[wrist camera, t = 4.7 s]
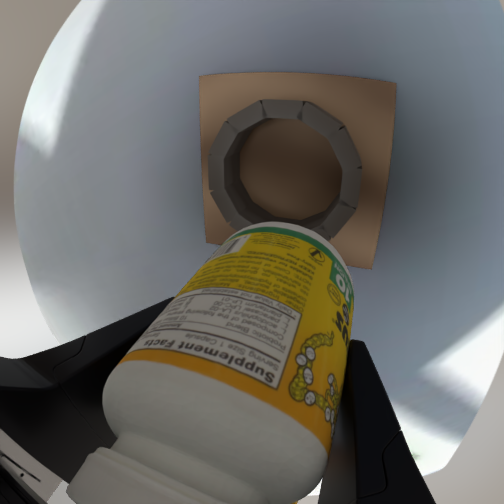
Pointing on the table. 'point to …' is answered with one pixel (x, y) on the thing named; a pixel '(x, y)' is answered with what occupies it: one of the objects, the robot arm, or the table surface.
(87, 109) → the table surface
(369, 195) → the can holder
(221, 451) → the supplement bottle
